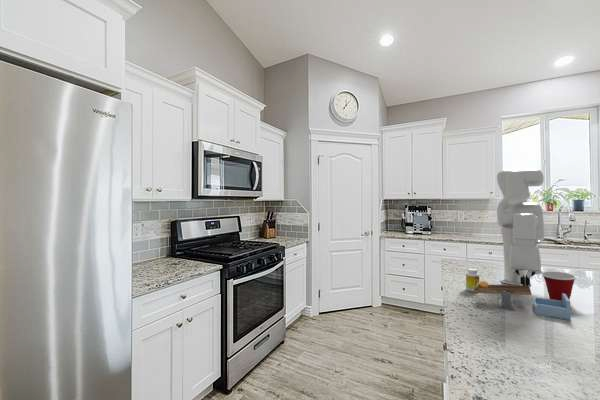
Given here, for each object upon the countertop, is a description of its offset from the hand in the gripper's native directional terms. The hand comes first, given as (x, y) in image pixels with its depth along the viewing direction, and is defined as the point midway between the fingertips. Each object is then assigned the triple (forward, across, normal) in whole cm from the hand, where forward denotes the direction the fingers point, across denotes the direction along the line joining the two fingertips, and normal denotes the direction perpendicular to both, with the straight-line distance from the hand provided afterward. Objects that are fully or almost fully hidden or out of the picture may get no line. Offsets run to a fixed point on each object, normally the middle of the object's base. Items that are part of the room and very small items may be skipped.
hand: (525, 286), depth 116 cm
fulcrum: (+8, +6, +6) cm, 12 cm away
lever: (+2, +7, +3) cm, 8 cm away
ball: (0, +14, +6) cm, 15 cm away
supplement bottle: (+8, +20, -9) cm, 23 cm away
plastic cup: (+8, -12, -11) cm, 18 cm away
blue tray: (+8, -7, +6) cm, 12 cm away
